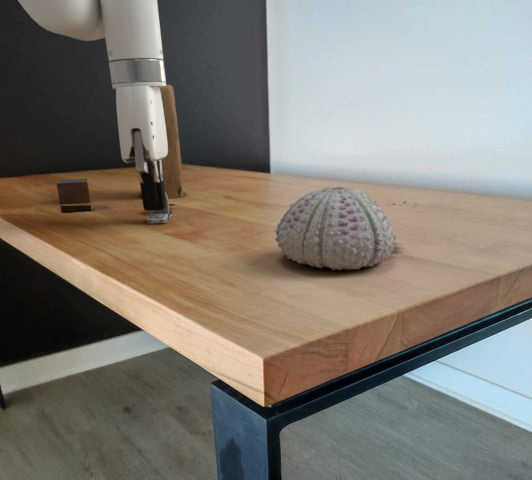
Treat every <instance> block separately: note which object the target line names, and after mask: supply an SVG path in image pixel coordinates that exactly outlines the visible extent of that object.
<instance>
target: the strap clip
mask: <svg viewBox="0 0 532 480" xmlns="http://www.w3.org/2000/svg"><path fill="white" fill-rule="evenodd" d="M165 200H166V207H165V208H164V209H163V210H150V214H149V215H147V216H146V223H147V224H167V223H168V221H169V219H170V218H172V217H173V215H174V213H173V211H172V210H171V211H170V205H169V204H170V202H169V199H168V196H167V194H166V193H165ZM166 222H167V223H166Z"/></svg>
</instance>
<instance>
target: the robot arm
mask: <svg viewBox="0 0 532 480" xmlns="http://www.w3.org/2000/svg"><path fill="white" fill-rule="evenodd" d="M17 1H18V3H19V4H20V5H21V7H22V8H23V10H24V11H25V12H26V13H27V14H28V15H29V16H30V18H31V19H32V20H33V21H34V22H35V23H36V24H38V25H39V26H40V27H41V28H43V29H44V30H46V31H48V32H51V33H54V34H56V35H61V36H65V37H69V38H71V39H74V40H79V41H84V42H85V41H86V42H88V41H89V42H92V41H98V40H102V39H105V44H106V45H105V46H106V52H107V58H108V66H109V72H110V79H111V86H112V89H113V90H115V102H116V118H117V128H118V137H119V149H120V156H121V160H122V161H123V162H124V163H126V164H131V163H135V171H136V172H137V175H138V180H139V181H138V182H139V185H140V186H139V187H140V193H141V200H142V208H143V210H144V211H151V210H163V209H164V208H165V207H166V199H165V191H164V183H163V174H162V161H161V159H163V158H165V157H166V156H167V154H168V143H167V133H166V125H165V117H164V111H163V102H162V98H161V92H160V87H166V84H167V79H166V71H165V70H166V69H165V61H164V53H163V42H162V33H161V32H162V31H161V25H160V14H159V4H158V0H17ZM148 158H150V159H148ZM159 181H161V182H159Z"/></svg>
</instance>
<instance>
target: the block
mask: <svg viewBox="0 0 532 480" xmlns="http://www.w3.org/2000/svg"><path fill="white" fill-rule="evenodd" d="M160 92H161V98H162V102H163V111H164V117H165V125H166V133H167V143H168V154H167V156H166V157H165V158H163V159H161V161H162V174H163V183H164V191H165V193H166V194H167V196H168V200H169V199H176V198H183V197H184V181H183V169H182V168H183V167H182V158H181V157H182V154H181V145H180V136H179V126H178V115H177V109H176V99H175V91H174V87H173V86H172V85H171V84H169V83H166V87H160ZM148 159H150V158H148ZM159 182H161V181H159ZM176 205H177V204H175V203H172V204H171V203H169V206H176Z"/></svg>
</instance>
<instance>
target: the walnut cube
mask: <svg viewBox="0 0 532 480" xmlns="http://www.w3.org/2000/svg"><path fill="white" fill-rule="evenodd" d="M88 183H89V182H88V178H71V179H70V178H69V179H67V178H66V179H57V181H56V188H57V194H58V200H59V205H60V211H61V214H72V213H87V212H86V211H88V212H92V211H93V210H92V205H91V197H90V190H89V184H88ZM81 204H83V205H81ZM84 204H85V205H84ZM86 204H87V205H86Z"/></svg>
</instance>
